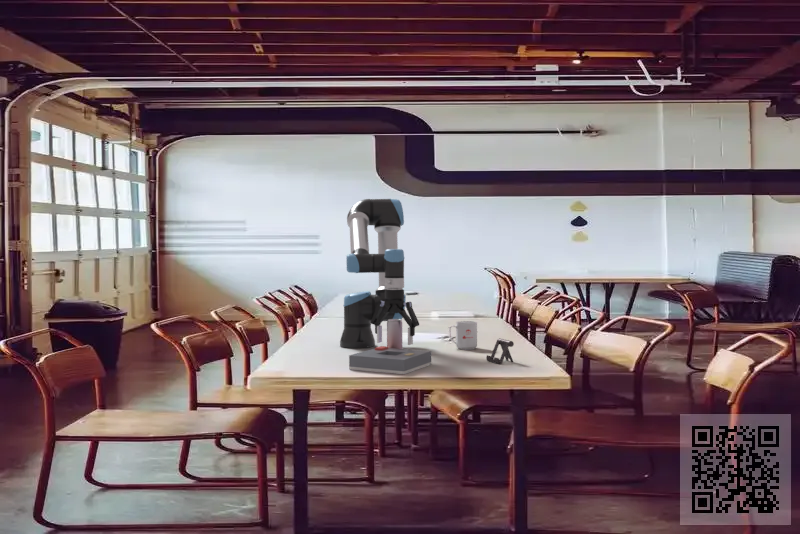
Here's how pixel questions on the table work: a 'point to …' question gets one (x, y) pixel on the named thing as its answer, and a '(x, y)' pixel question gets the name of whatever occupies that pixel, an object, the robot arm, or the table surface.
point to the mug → (465, 335)
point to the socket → (390, 360)
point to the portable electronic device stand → (505, 353)
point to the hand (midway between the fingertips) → (394, 343)
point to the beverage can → (394, 333)
